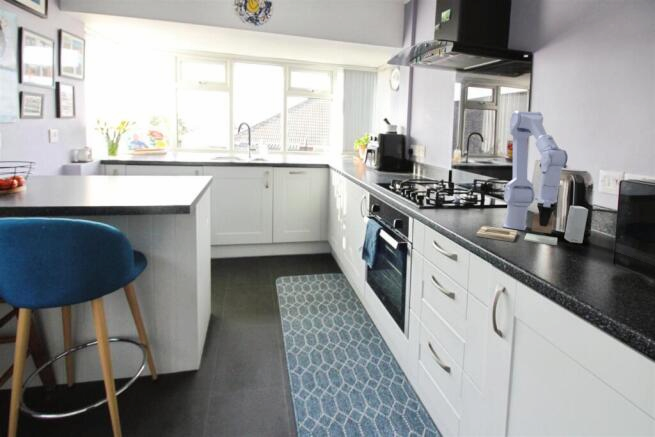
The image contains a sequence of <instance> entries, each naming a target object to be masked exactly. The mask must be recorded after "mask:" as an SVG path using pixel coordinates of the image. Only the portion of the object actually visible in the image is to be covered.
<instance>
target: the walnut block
mask: <svg viewBox="0 0 655 437" xmlns="http://www.w3.org/2000/svg"><path fill="white" fill-rule="evenodd" d="M554 217H555V216H554V213H552V215H551V217H550V219H549V222H548V225H547V227H545V226H540V219H539V211H538V212H537V211H534V213H533V218H532V219H533V220H532V227H531V232H538V233H545V234H552V229H553V223H554Z"/></svg>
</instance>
